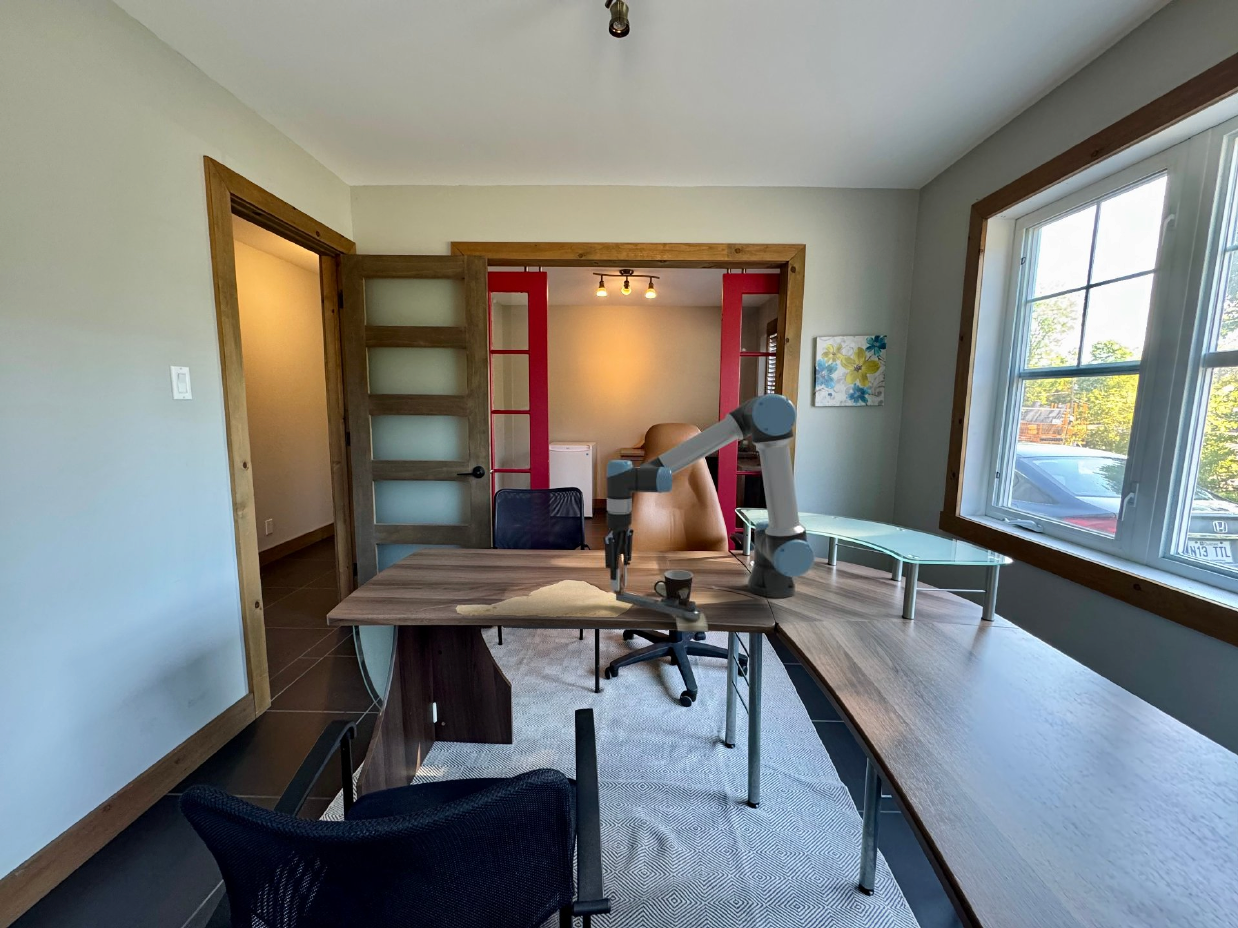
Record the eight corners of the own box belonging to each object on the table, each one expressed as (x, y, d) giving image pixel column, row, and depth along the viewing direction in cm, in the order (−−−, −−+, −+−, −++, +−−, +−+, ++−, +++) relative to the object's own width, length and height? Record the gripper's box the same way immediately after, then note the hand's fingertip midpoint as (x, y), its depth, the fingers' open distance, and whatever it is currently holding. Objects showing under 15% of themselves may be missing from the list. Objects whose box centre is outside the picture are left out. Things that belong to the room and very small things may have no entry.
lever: (704, 615, 131) (705, 565, 130) (695, 623, 126) (696, 571, 125) (621, 595, 146) (621, 550, 145) (609, 601, 141) (609, 555, 140)
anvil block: (685, 593, 153) (686, 581, 152) (686, 596, 150) (686, 584, 150) (655, 592, 153) (655, 581, 153) (655, 595, 150) (655, 583, 150)
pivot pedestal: (703, 618, 133) (703, 597, 133) (707, 631, 125) (708, 608, 125) (675, 618, 134) (675, 596, 133) (677, 630, 126) (678, 607, 125)
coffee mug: (691, 601, 146) (692, 570, 145) (693, 612, 137) (693, 579, 136) (654, 599, 147) (654, 569, 146) (653, 611, 139) (653, 578, 138)
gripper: (623, 506, 148) (622, 577, 151) (592, 514, 135) (592, 593, 137) (643, 508, 144) (642, 582, 147) (614, 517, 131) (613, 598, 133)
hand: (618, 587), depth 142 cm, fingers closed on lever, 3 cm apart
